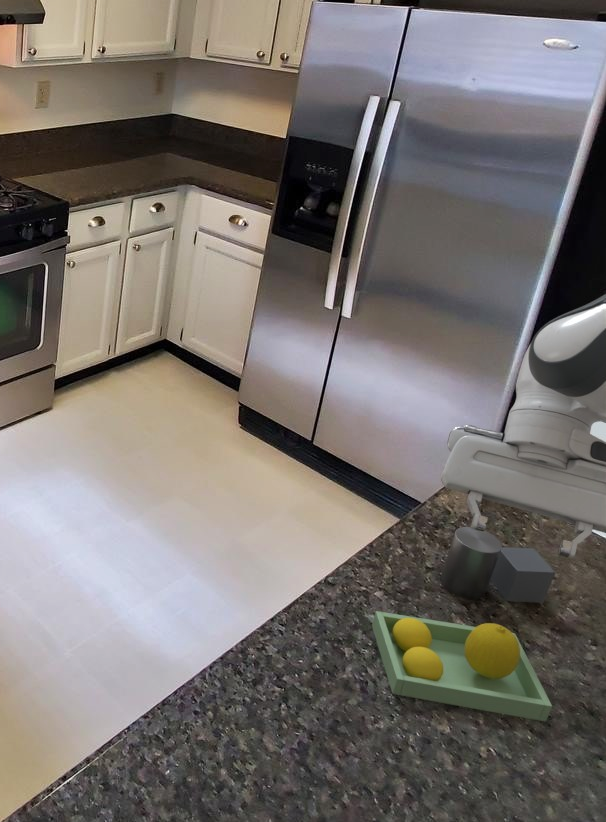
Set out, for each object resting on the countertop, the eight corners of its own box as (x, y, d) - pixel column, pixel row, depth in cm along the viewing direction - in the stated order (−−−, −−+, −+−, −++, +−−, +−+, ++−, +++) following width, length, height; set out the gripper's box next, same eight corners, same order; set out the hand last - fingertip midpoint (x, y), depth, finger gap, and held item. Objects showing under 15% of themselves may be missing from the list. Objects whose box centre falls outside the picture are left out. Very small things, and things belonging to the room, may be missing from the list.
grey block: (521, 580, 116) (534, 548, 114) (542, 605, 112) (555, 572, 109) (485, 579, 117) (497, 546, 114) (505, 604, 112) (517, 570, 110)
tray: (508, 650, 105) (515, 633, 103) (544, 724, 94) (552, 706, 93) (370, 627, 108) (375, 610, 107) (391, 697, 98) (397, 678, 97)
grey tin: (476, 578, 117) (493, 529, 113) (489, 605, 112) (508, 555, 108) (434, 572, 118) (449, 523, 114) (445, 599, 113) (462, 549, 109)
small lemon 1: (421, 638, 106) (429, 613, 104) (431, 664, 102) (440, 638, 100) (385, 632, 107) (393, 607, 105) (393, 657, 103) (401, 632, 101)
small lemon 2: (432, 667, 101) (441, 642, 100) (443, 695, 98) (452, 669, 96) (394, 661, 102) (402, 636, 101) (403, 688, 99) (412, 662, 97)
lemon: (457, 651, 104) (474, 604, 100) (508, 668, 101) (526, 621, 98) (457, 681, 100) (474, 633, 96) (509, 699, 97) (529, 651, 94)
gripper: (455, 414, 108) (430, 510, 105) (649, 460, 97) (627, 568, 94) (450, 427, 113) (426, 519, 110) (633, 472, 102) (612, 575, 99)
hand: (520, 542), depth 102 cm, fingers open, 8 cm apart
